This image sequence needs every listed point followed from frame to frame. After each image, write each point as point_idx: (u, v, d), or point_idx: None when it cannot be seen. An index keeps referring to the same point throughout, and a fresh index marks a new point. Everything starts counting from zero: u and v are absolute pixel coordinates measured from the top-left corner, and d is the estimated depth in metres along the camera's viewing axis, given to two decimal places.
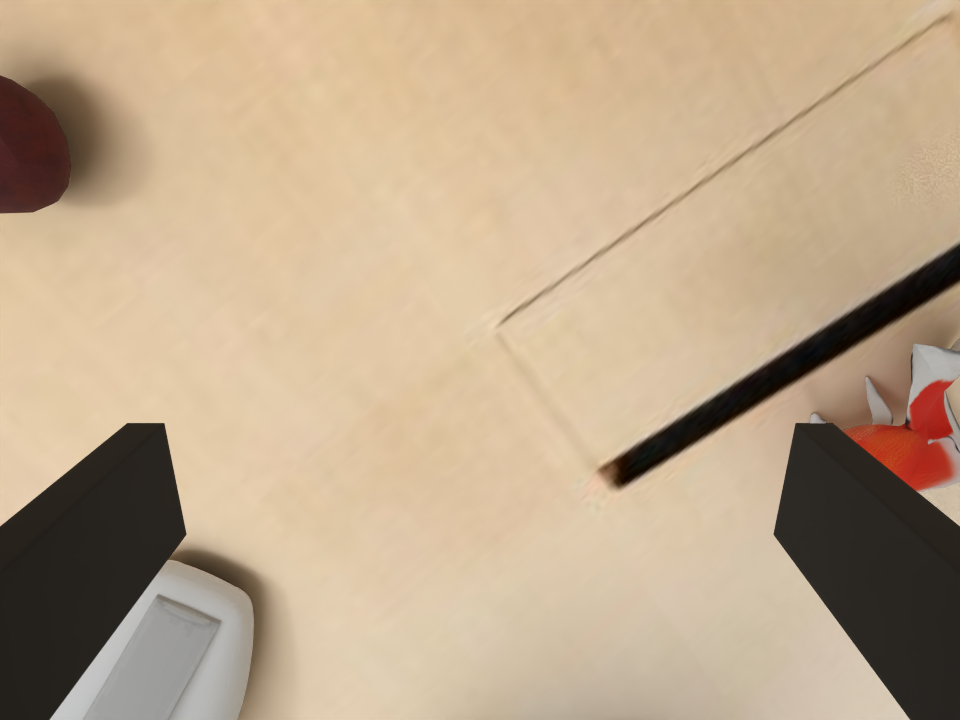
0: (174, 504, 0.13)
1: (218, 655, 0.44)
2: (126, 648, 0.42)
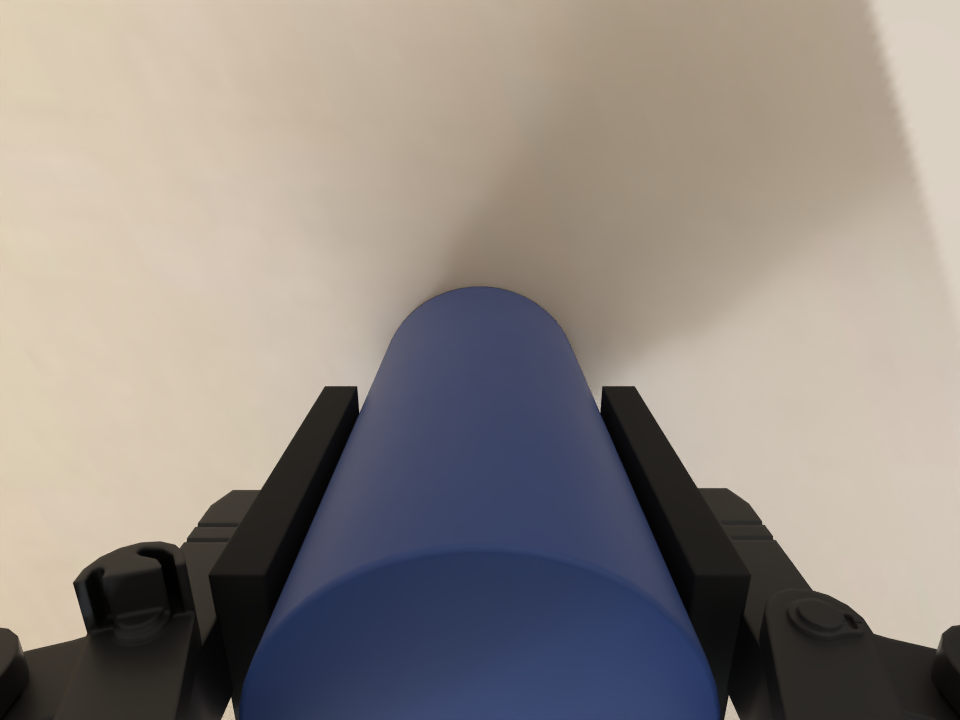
0: None
1: None
2: None
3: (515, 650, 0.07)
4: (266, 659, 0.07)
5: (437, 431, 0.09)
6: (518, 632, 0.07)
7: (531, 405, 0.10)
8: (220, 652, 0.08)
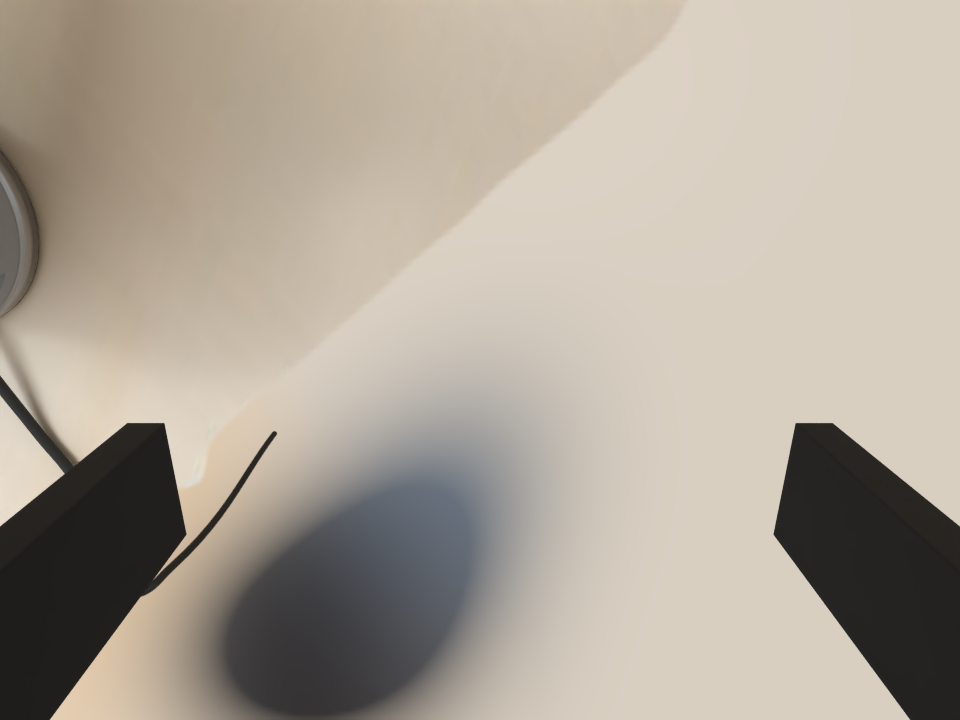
0: (174, 504, 0.13)
1: None
2: None
3: None
4: None
5: None
6: None
7: None
8: None
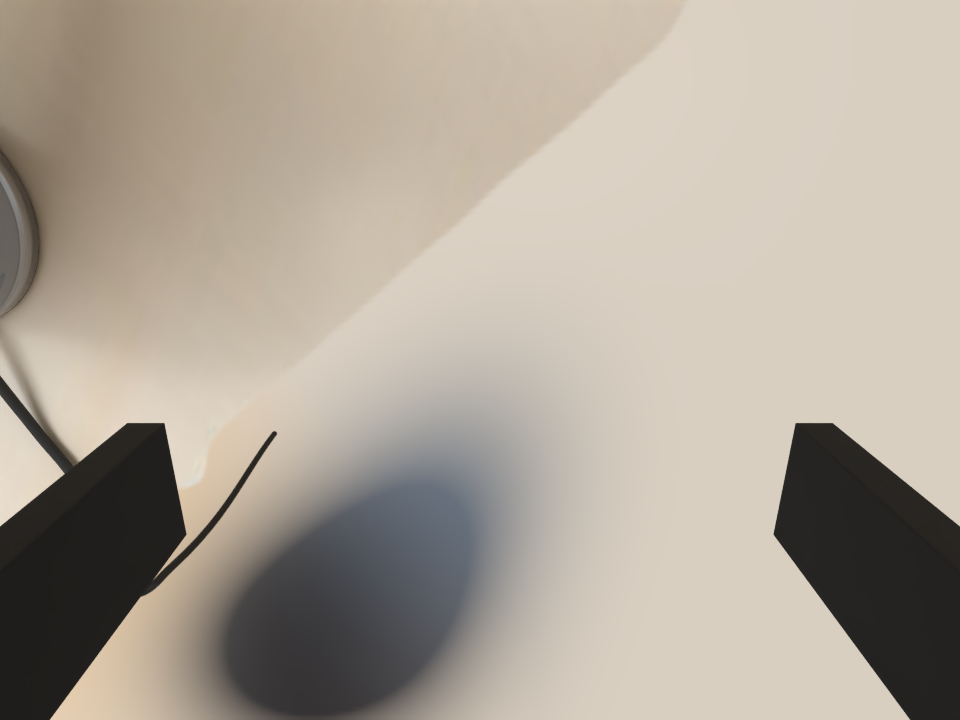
0: (174, 504, 0.13)
1: None
2: None
3: None
4: None
5: None
6: None
7: None
8: None
